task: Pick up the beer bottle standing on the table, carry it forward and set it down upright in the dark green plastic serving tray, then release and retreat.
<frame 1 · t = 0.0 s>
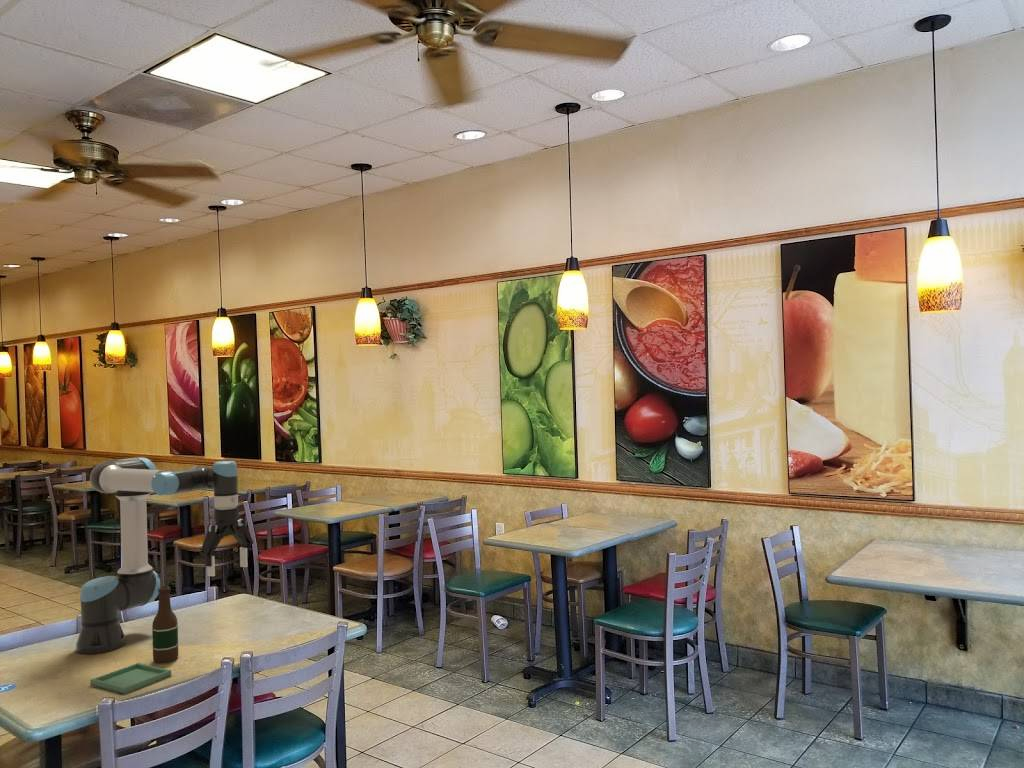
hand: (227, 571, 260), 28 cm above the table, fingers open, 13 cm apart
tray: (131, 680, 238), on the table
beer bottle: (165, 660, 256), on the table
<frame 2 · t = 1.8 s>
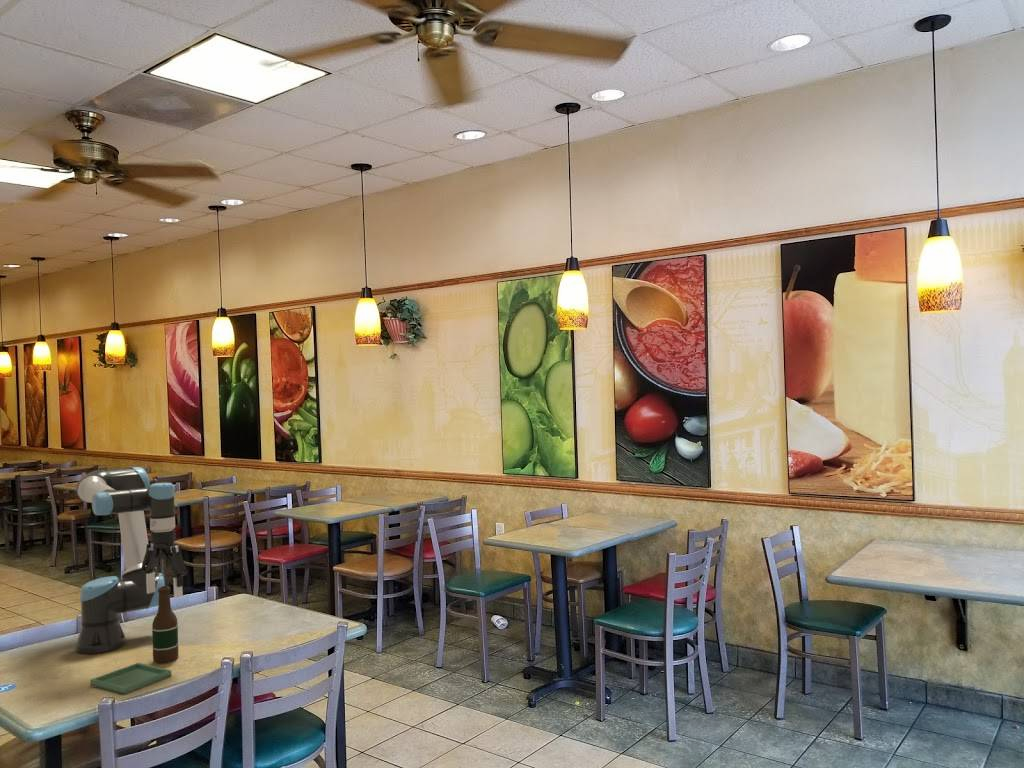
hand: (164, 594, 256), 22 cm above the table, fingers open, 13 cm apart
nothing on the table moved.
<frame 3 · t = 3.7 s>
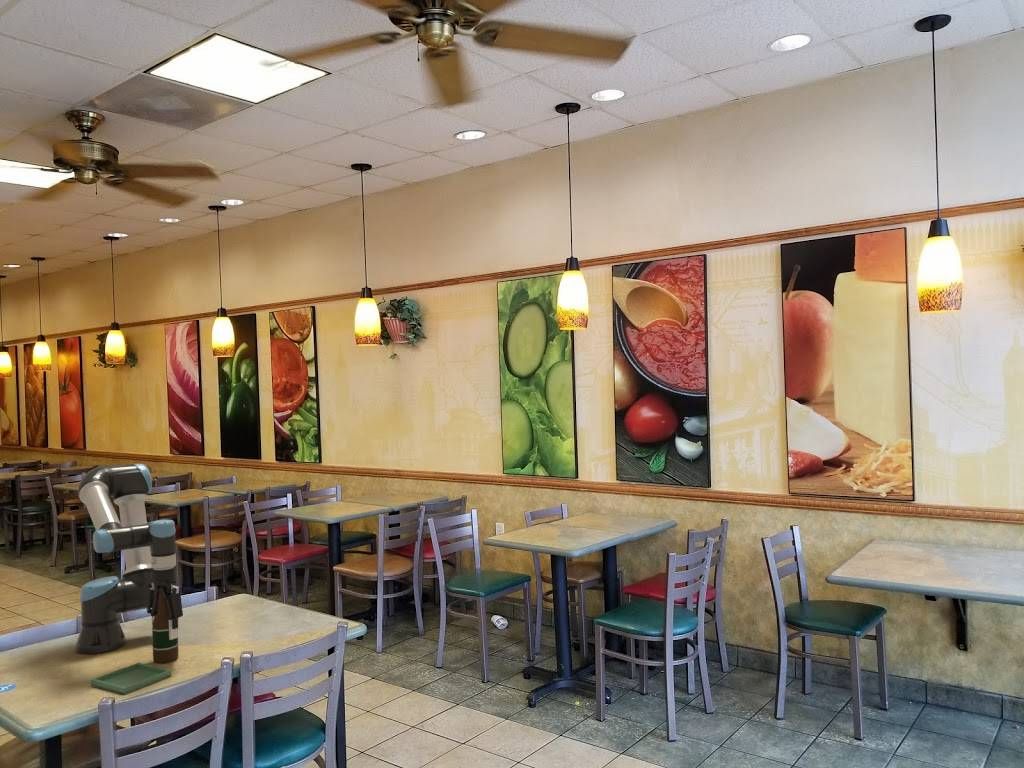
hand: (165, 636, 257), 8 cm above the table, fingers closed on beer bottle, 7 cm apart
beer bottle: (165, 660, 256), on the table, touching gripper
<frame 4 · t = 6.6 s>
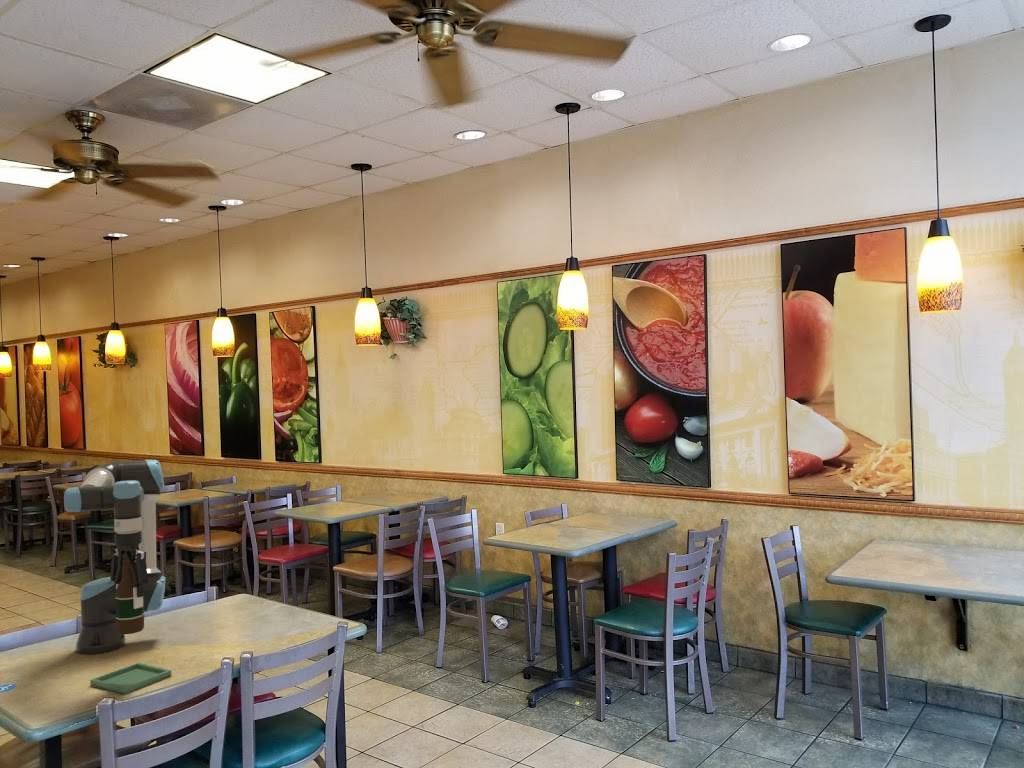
hand: (129, 605, 239), 23 cm above the table, fingers closed on beer bottle, 7 cm apart
beer bottle: (130, 631, 239), point 15 cm above the table, touching gripper
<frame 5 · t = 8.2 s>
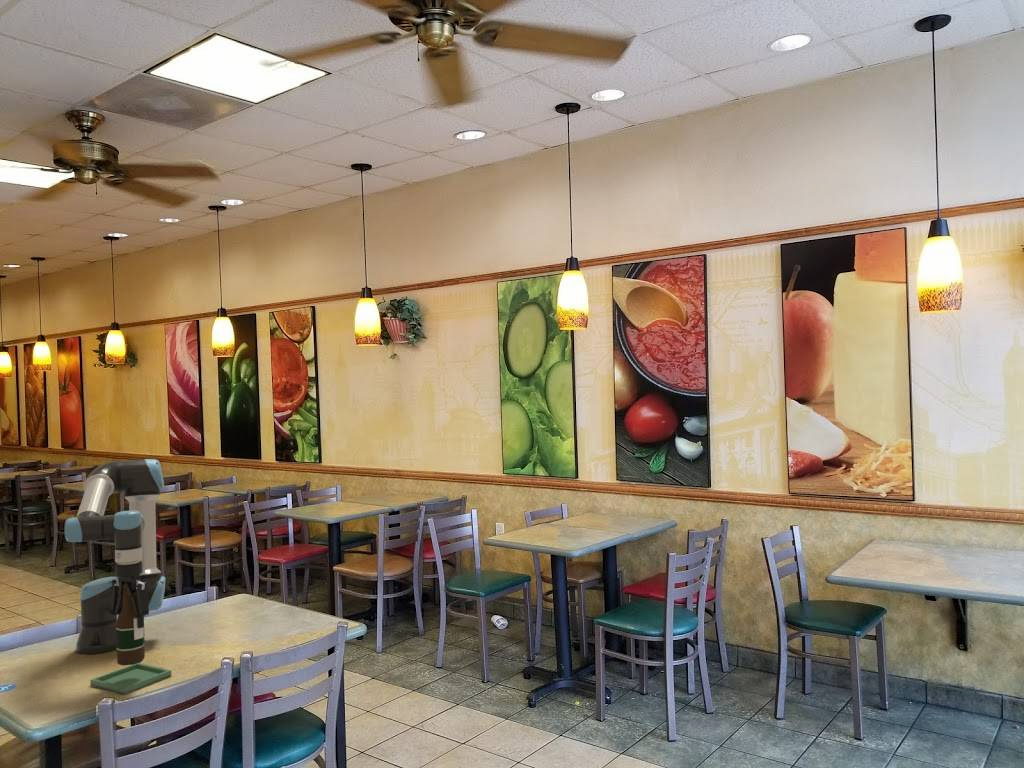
hand: (130, 636, 238), 14 cm above the table, fingers closed on beer bottle, 7 cm apart
beer bottle: (131, 662, 238), point 6 cm above the table, touching gripper
when the fingers open (9 cm above the table, at t = 9.6 s): beer bottle stays where it is, resting on tray.
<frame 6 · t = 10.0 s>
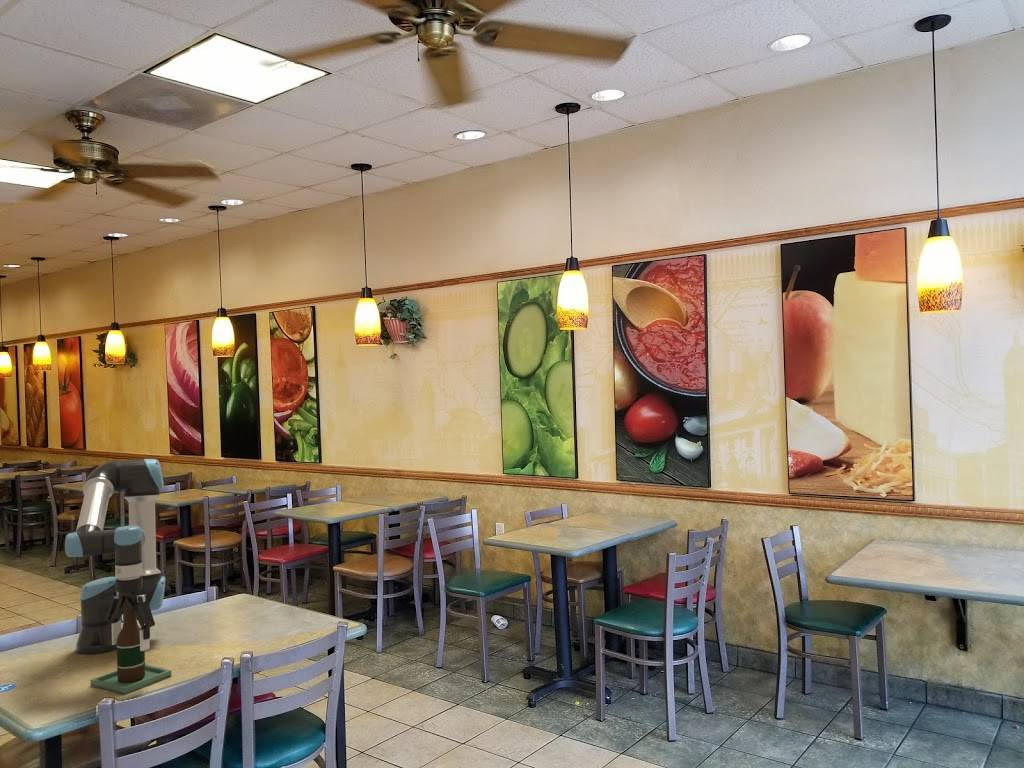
hand: (130, 646, 238), 10 cm above the table, fingers open, 13 cm apart
beer bottle: (131, 679, 239), resting on tray
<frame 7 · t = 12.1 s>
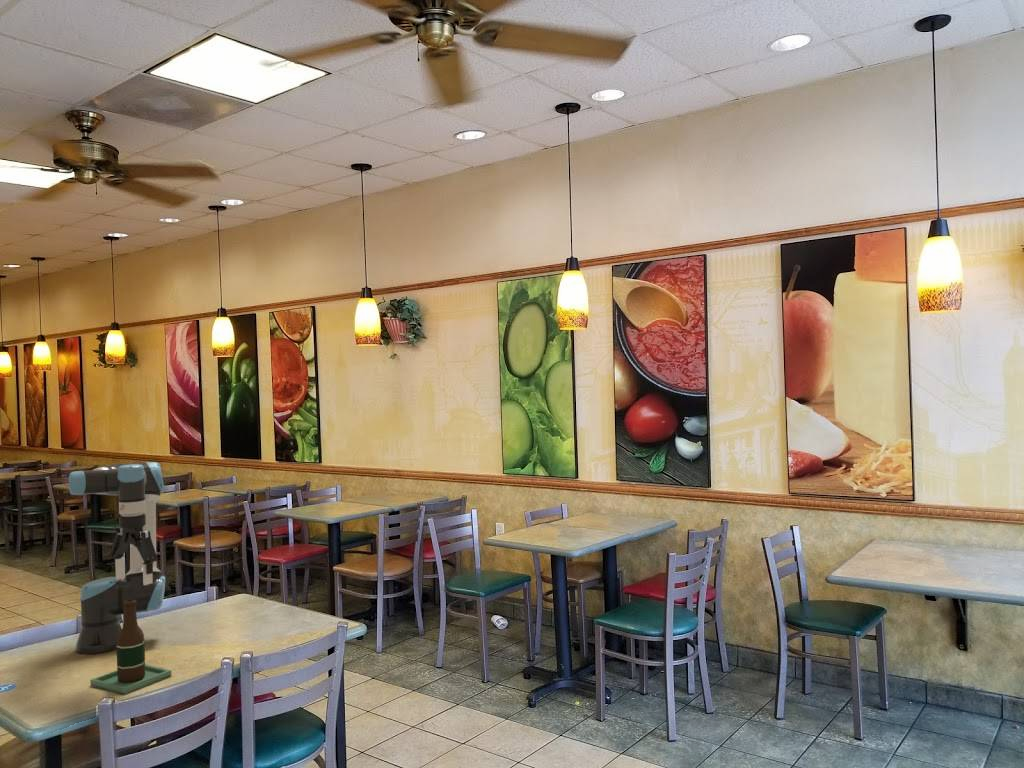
hand: (134, 581, 244), 29 cm above the table, fingers open, 13 cm apart
nothing on the table moved.
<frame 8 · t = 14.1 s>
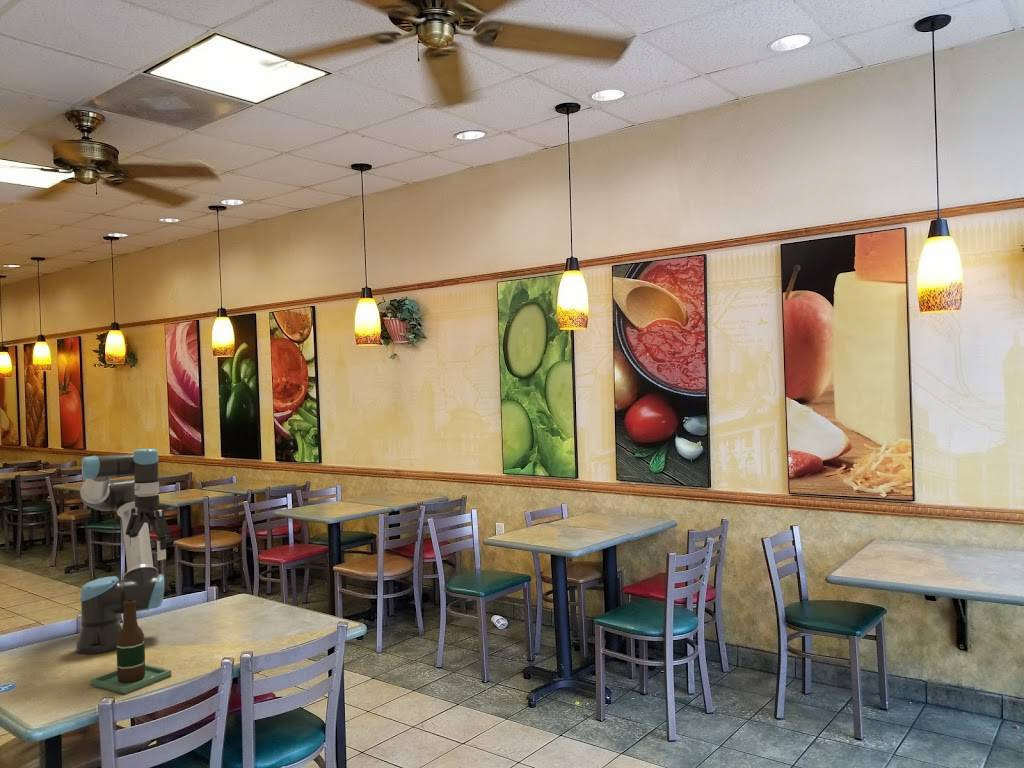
hand: (148, 558, 262), 33 cm above the table, fingers open, 13 cm apart
nothing on the table moved.
at the end: beer bottle inside the target area on the tray (0.1 cm from its centre), point 0.4 cm above the tray's base; beer bottle tilted 0°; the gripper is holding nothing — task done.
